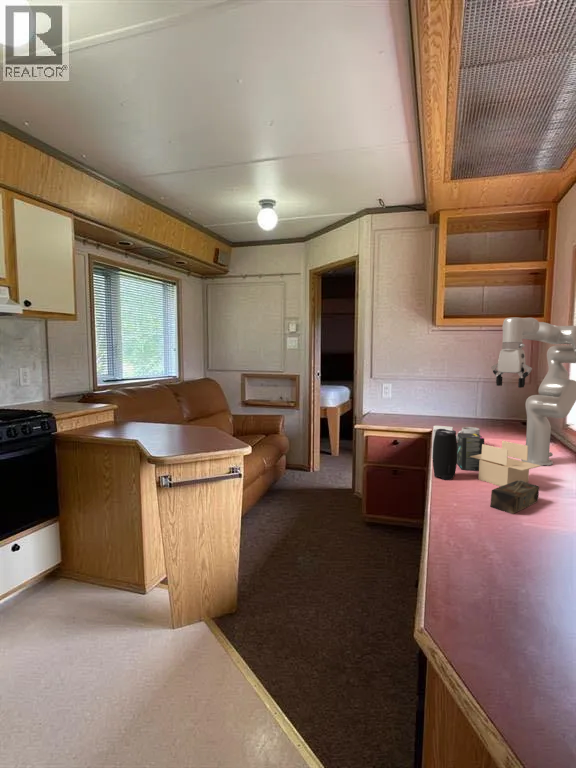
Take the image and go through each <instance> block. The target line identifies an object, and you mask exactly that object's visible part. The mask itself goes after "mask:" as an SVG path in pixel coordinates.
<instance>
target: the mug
mask: <svg viewBox="0 0 576 768" xmlns="http://www.w3.org/2000/svg"><path fill="white" fill-rule="evenodd" d="M480 430H481V429H480V428H479V427H473V426H462V427H461V430H459V431H457V432H456V438H458V433H471V434H479V435H480V433H481V431H480ZM480 436H481V435H480Z"/></svg>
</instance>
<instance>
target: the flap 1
mask: <svg viewBox="0 0 576 768" xmlns="http://www.w3.org/2000/svg"><path fill="white" fill-rule="evenodd" d="M507 458H509V456H508V450H507V449H502V447H498V446H492V445H488V444H485V443H484V444H482V455H481V459H484V460H487V461H491V462H495V463H499V464H503V465H507Z"/></svg>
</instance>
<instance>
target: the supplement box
mask: <svg viewBox="0 0 576 768" xmlns="http://www.w3.org/2000/svg"><path fill="white" fill-rule="evenodd" d="M453 428H454V427H453V426H444V425H433V429H432V442H431V443H432V445H431V459H432V460H433V442H434V437H435V432H436V430H437V429H446V430H450V431H453V430H454V429H453Z"/></svg>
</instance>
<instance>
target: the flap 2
mask: <svg viewBox="0 0 576 768" xmlns="http://www.w3.org/2000/svg"><path fill="white" fill-rule="evenodd" d="M501 448H502V449H507V450H508V458H512V459H517V460H521V459H522V460H526V461H528V446H526V444H522V443H516V442H510V441H506V440H502V441H501ZM522 460H521V461H522Z"/></svg>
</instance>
